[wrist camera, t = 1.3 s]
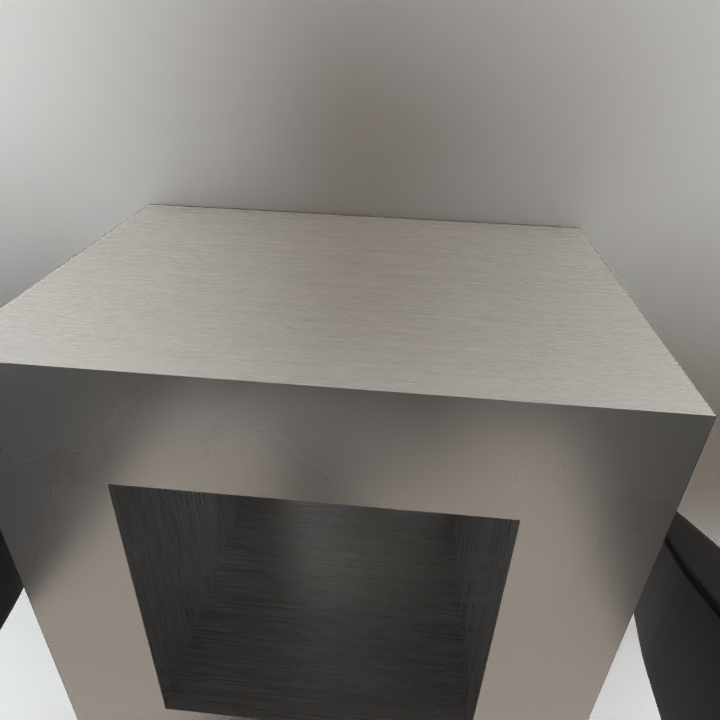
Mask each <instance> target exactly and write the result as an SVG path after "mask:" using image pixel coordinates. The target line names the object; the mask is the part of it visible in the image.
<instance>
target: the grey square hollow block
mask: <svg viewBox="0 0 720 720" xmlns="http://www.w3.org/2000/svg"><path fill="white" fill-rule="evenodd" d="M715 418H716V415H715V413H714V412H713V411H712V409H711V408H710V406H709V405H708V404H707V402H706V401H705V400H704V398H703V397H702V395H701V394H700V393H699V391H698V390H697V389H696V387H695V386H694V384H693V383H692V382H691V380H690V379H689V378H688V376H687V375H686V373H685V372H684V371H683V369H682V368H681V367H680V365H679V364H678V362H677V361H676V360H675V358H674V357H673V356H672V354H671V353H670V351H669V350H668V349H667V347H666V346H665V345H664V343H663V342H662V340H661V339H660V338H659V336H658V335H657V334H656V332H655V331H654V329H653V328H652V327H651V325H650V324H649V323H648V321H647V320H646V318H645V317H644V316H643V314H642V313H641V312H640V310H639V309H638V307H637V306H636V305H635V303H634V302H633V301H632V299H631V298H630V296H629V295H628V294H627V292H626V291H625V290H624V288H623V287H622V285H621V284H620V283H619V281H618V280H617V279H616V277H615V276H614V274H613V273H612V272H611V270H610V269H609V268H608V266H607V265H606V263H605V262H604V261H603V259H602V258H601V257H600V255H599V254H598V252H597V251H596V250H595V248H594V247H593V246H592V244H591V243H590V241H589V240H588V239H587V237H586V236H585V235H584V233H583V232H582V230H581V229H580V228H564V227H546V226H528V225H510V224H492V223H474V222H456V221H438V220H420V219H402V218H384V217H366V216H348V215H330V214H312V213H294V212H277V211H259V210H241V209H223V208H205V207H187V206H169V205H151V204H148V205H147V206H145V207H144V208H142V209H141V210H140V211H138V212H137V213H135V214H134V215H133V216H131V217H130V218H128V219H127V220H125V221H124V222H123V223H121V224H120V225H118V226H117V227H115V228H114V229H113V230H111V231H110V232H108V233H107V234H105V235H104V236H103V237H101V238H100V239H98V240H97V241H96V242H94V243H93V244H91V245H90V246H88V247H87V248H86V249H84V250H83V251H81V252H80V253H78V254H77V255H76V256H74V257H73V258H71V259H70V260H68V261H67V262H66V263H64V264H63V265H61V266H60V267H59V268H57V269H56V270H54V271H53V272H51V273H50V274H49V275H47V276H46V277H44V278H43V279H41V280H40V281H39V282H37V283H36V284H34V285H33V286H31V287H30V288H29V289H27V290H26V291H24V292H23V293H22V294H20V295H19V296H17V297H16V298H14V299H13V300H12V301H10V302H9V303H7V304H6V305H4V306H3V307H2V308H0V529H1V532H2V534H3V537H4V539H5V541H6V544H7V546H8V549H9V551H10V554H11V556H12V559H13V561H14V564H15V566H16V569H17V571H18V573H19V576H20V578H21V581H22V583H23V586H24V588H25V591H26V593H27V596H28V598H29V601H30V603H31V606H32V608H33V610H34V613H35V615H36V618H37V620H38V623H39V625H40V628H41V630H42V633H43V635H44V638H45V640H46V642H47V645H48V647H49V650H50V652H51V655H52V657H53V660H54V662H55V665H56V667H57V670H58V672H59V674H60V677H61V679H62V682H63V684H64V687H65V689H66V692H67V694H68V697H69V699H70V702H71V704H72V706H73V709H74V711H75V714H76V716H77V719H78V720H588V719H589V716H590V714H591V712H592V709H593V707H594V705H595V702H596V700H597V697H598V695H599V693H600V690H601V688H602V686H603V683H604V681H605V678H606V676H607V674H608V671H609V669H610V667H611V664H612V662H613V660H614V657H615V655H616V652H617V650H618V648H619V645H620V643H621V641H622V638H623V636H624V634H625V631H626V629H627V626H628V624H629V622H630V619H631V617H632V615H633V612H634V610H635V608H636V605H637V603H638V600H639V598H640V596H641V593H642V591H643V589H644V586H645V584H646V582H647V579H648V577H649V574H650V572H651V570H652V567H653V565H654V563H655V560H656V558H657V556H658V553H659V551H660V548H661V546H662V544H663V541H664V539H665V537H666V534H667V532H668V530H669V527H670V525H671V522H672V520H673V518H674V515H675V513H676V511H677V508H678V506H679V504H680V501H681V499H682V496H683V494H684V492H685V489H686V487H687V485H688V482H689V480H690V478H691V475H692V473H693V470H694V468H695V466H696V463H697V461H698V459H699V456H700V454H701V452H702V449H703V447H704V444H705V442H706V440H707V437H708V435H709V433H710V430H711V428H712V426H713V423H714V421H715Z"/></svg>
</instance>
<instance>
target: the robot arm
mask: <svg viewBox="0 0 720 720" xmlns="http://www.w3.org/2000/svg"><path fill="white" fill-rule="evenodd" d="M23 588H24V586H23V583H22V581H21V578H20V576H19V573H18V571H17V569H16V566H15V564H14V561H13V559H12V556H11V554H10V551H9V549H8V546H7V544H6V541H5V539H4V537H3V534H2V532H1V529H0V630H1V628H2V626H3V624H4V623H5V621H6V619H7V617H8V616H9V614H10V612H11V610H12V609H13V607H14V605H15V603H16V601H17V600H18V598H19V596H20V594H21V592H22V590H23ZM634 617H635V622H636V627H637V633H638V638H639V643H640V647H641V652H642V657H643V660H644V664H645V667H646V671H647V675H648V678H649V681H650V684H651V688H652V691H653V694H654V697H655V701H656V704H657V707H658V710H659V714H660V717H661V720H720V547H719V546H717V545H716V544H715V543H714V542H713V541H711V540H710V539H709V538H708V537H707V536H706V535H704V534H703V533H702V532H701V531H700V530H698V529H697V528H696V527H695V526H694V525H693V524H691V523H690V522H689V521H688V520H687V519H686V518H684V517H683V516H682V515H681V514H680V513H678V512H677V511H676V513H675V515H674V518H673V520H672V522H671V525H670V527H669V530H668V532H667V534H666V537H665V539H664V541H663V544H662V546H661V548H660V551H659V553H658V556H657V558H656V560H655V563H654V565H653V567H652V570H651V572H650V574H649V577H648V579H647V582H646V584H645V586H644V589H643V591H642V593H641V596H640V598H639V600H638V603H637V605H636V608H635V610H634Z"/></svg>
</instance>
